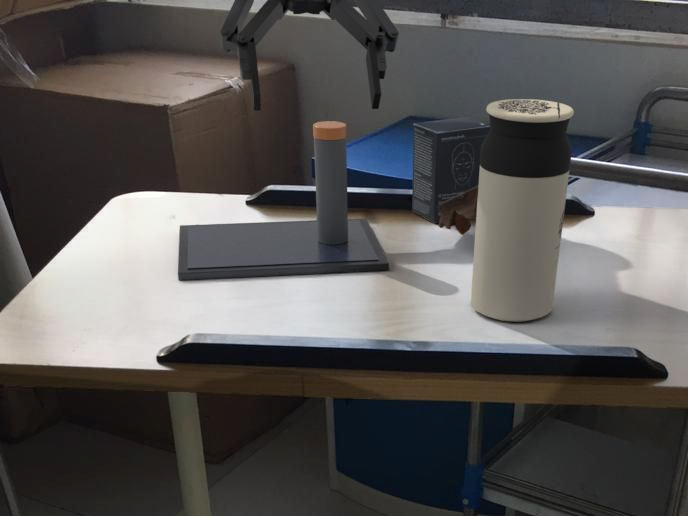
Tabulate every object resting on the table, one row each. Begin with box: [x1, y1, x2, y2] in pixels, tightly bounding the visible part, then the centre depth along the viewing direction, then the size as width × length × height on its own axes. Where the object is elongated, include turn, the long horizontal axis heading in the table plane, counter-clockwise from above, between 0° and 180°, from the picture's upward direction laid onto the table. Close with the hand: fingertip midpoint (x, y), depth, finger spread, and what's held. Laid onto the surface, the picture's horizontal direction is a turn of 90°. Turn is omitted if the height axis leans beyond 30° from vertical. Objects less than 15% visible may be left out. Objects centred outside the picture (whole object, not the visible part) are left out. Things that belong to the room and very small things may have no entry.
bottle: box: [312, 120, 349, 245], centre depth 96 cm, size 4×4×12 cm
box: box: [411, 116, 490, 224], centre depth 108 cm, size 8×6×11 cm
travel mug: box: [470, 98, 575, 323], centre depth 81 cm, size 8×8×18 cm
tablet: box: [177, 217, 390, 281], centre depth 99 cm, size 22×16×1 cm
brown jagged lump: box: [437, 185, 479, 236], centre depth 101 cm, size 12×10×8 cm
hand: (317, 102), depth 101 cm, fingers open, 13 cm apart
